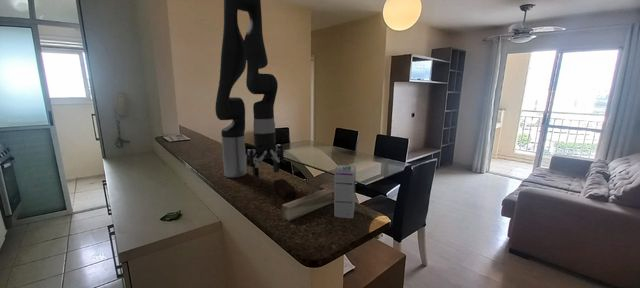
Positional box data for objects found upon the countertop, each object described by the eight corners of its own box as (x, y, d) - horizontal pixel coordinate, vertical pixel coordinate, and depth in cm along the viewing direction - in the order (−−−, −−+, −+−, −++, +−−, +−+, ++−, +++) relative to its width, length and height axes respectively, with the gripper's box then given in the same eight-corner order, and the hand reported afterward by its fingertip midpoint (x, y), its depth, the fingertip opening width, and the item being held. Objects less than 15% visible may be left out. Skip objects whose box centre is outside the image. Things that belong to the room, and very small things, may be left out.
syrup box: (353, 219, 77) (355, 171, 74) (333, 217, 78) (334, 170, 75) (354, 210, 82) (356, 165, 79) (336, 208, 83) (337, 164, 80)
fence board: (282, 217, 77) (282, 204, 77) (325, 200, 90) (325, 188, 89) (289, 221, 75) (288, 208, 74) (331, 202, 88) (331, 191, 87)
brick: (273, 192, 97) (273, 180, 96) (283, 190, 99) (283, 178, 98) (285, 202, 88) (285, 189, 87) (296, 200, 90) (296, 187, 89)
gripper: (274, 128, 102) (276, 168, 105) (241, 132, 92) (244, 176, 95) (286, 130, 97) (288, 172, 100) (252, 134, 87) (255, 181, 90)
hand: (266, 174), depth 97 cm, fingers open, 8 cm apart
